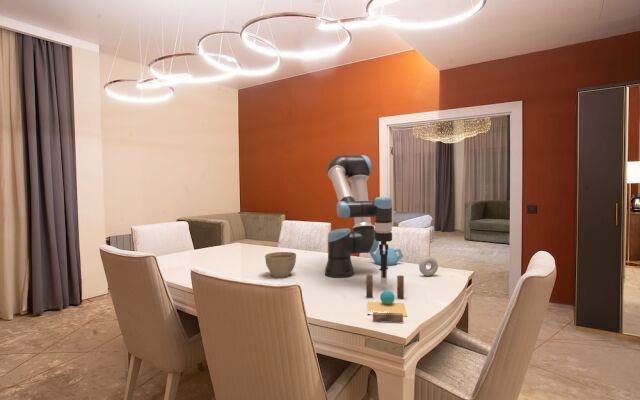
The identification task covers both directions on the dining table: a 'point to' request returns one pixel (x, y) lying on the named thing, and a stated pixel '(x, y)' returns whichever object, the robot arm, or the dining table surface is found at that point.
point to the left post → (369, 286)
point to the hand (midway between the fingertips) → (383, 284)
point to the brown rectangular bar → (388, 317)
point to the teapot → (391, 256)
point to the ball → (387, 297)
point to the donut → (424, 262)
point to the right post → (400, 287)
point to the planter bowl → (280, 263)
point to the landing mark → (387, 307)
